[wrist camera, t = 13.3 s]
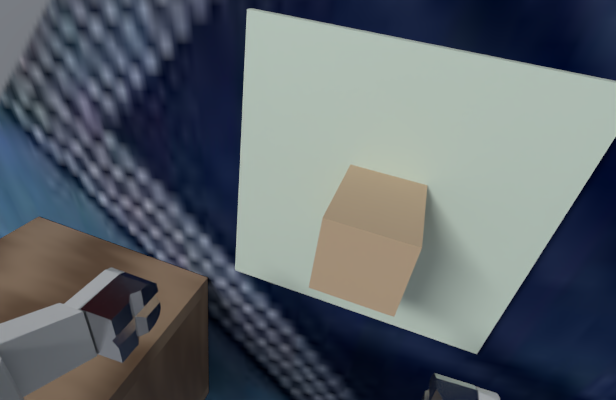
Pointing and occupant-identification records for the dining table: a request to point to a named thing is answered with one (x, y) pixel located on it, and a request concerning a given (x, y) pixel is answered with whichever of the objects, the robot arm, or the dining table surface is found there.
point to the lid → (407, 171)
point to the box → (152, 346)
